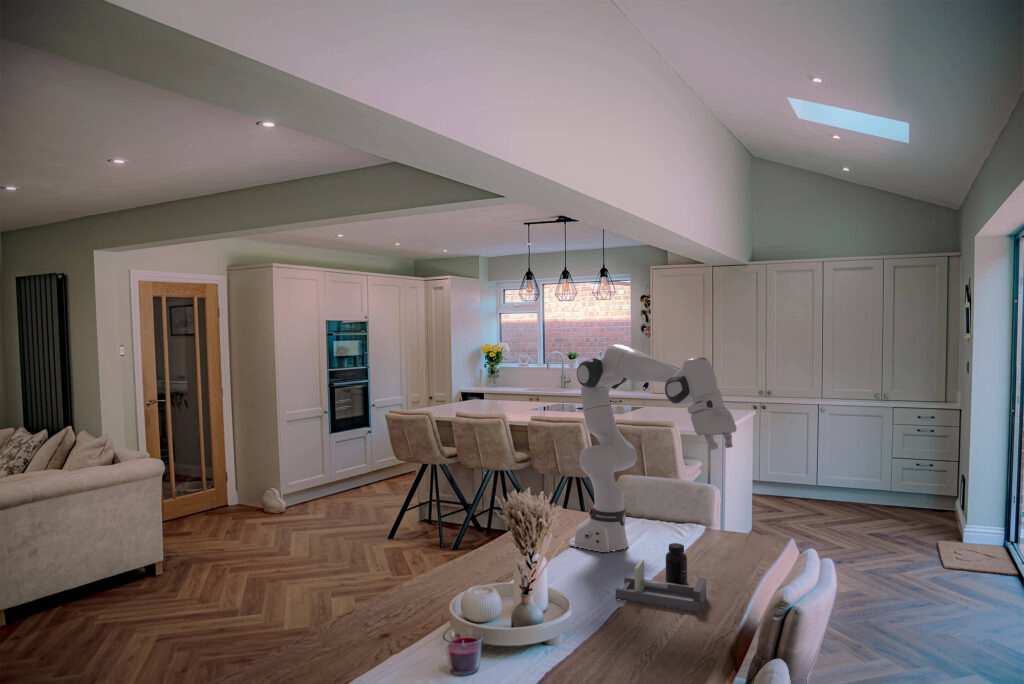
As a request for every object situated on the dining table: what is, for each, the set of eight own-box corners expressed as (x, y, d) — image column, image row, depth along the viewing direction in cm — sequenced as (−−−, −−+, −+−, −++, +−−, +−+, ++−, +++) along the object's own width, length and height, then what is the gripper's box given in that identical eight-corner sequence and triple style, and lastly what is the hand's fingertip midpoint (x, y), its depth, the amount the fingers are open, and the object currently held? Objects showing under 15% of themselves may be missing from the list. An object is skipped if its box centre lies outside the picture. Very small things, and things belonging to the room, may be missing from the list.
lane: (615, 599, 194) (615, 579, 194) (625, 585, 204) (625, 567, 204) (700, 612, 184) (700, 592, 184) (706, 598, 194) (705, 578, 194)
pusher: (634, 597, 193) (634, 568, 193) (641, 588, 201) (640, 559, 201) (664, 602, 189) (664, 572, 189) (670, 592, 197) (669, 563, 197)
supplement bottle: (688, 587, 203) (687, 549, 203) (666, 585, 204) (665, 548, 204) (686, 579, 209) (686, 542, 209) (665, 577, 211) (664, 541, 211)
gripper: (716, 408, 212) (729, 449, 208) (684, 408, 198) (696, 452, 194) (733, 402, 208) (746, 444, 204) (701, 403, 193) (715, 447, 189)
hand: (722, 448), depth 199 cm, fingers open, 8 cm apart
